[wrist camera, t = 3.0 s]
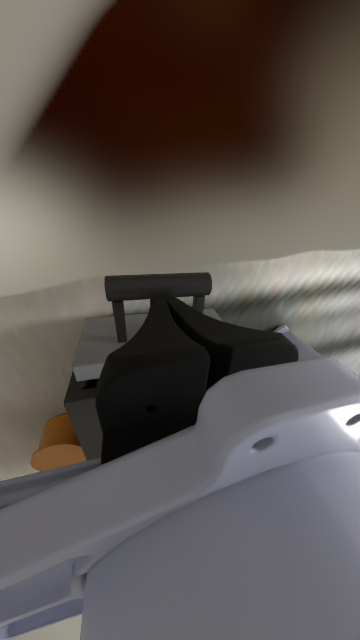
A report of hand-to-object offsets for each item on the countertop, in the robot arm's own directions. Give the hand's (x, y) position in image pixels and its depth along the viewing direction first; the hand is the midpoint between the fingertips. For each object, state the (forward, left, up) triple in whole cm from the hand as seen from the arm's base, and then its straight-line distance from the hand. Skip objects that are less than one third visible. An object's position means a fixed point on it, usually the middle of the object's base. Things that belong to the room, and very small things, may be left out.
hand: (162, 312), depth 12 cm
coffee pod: (+18, +6, -5) cm, 20 cm away
